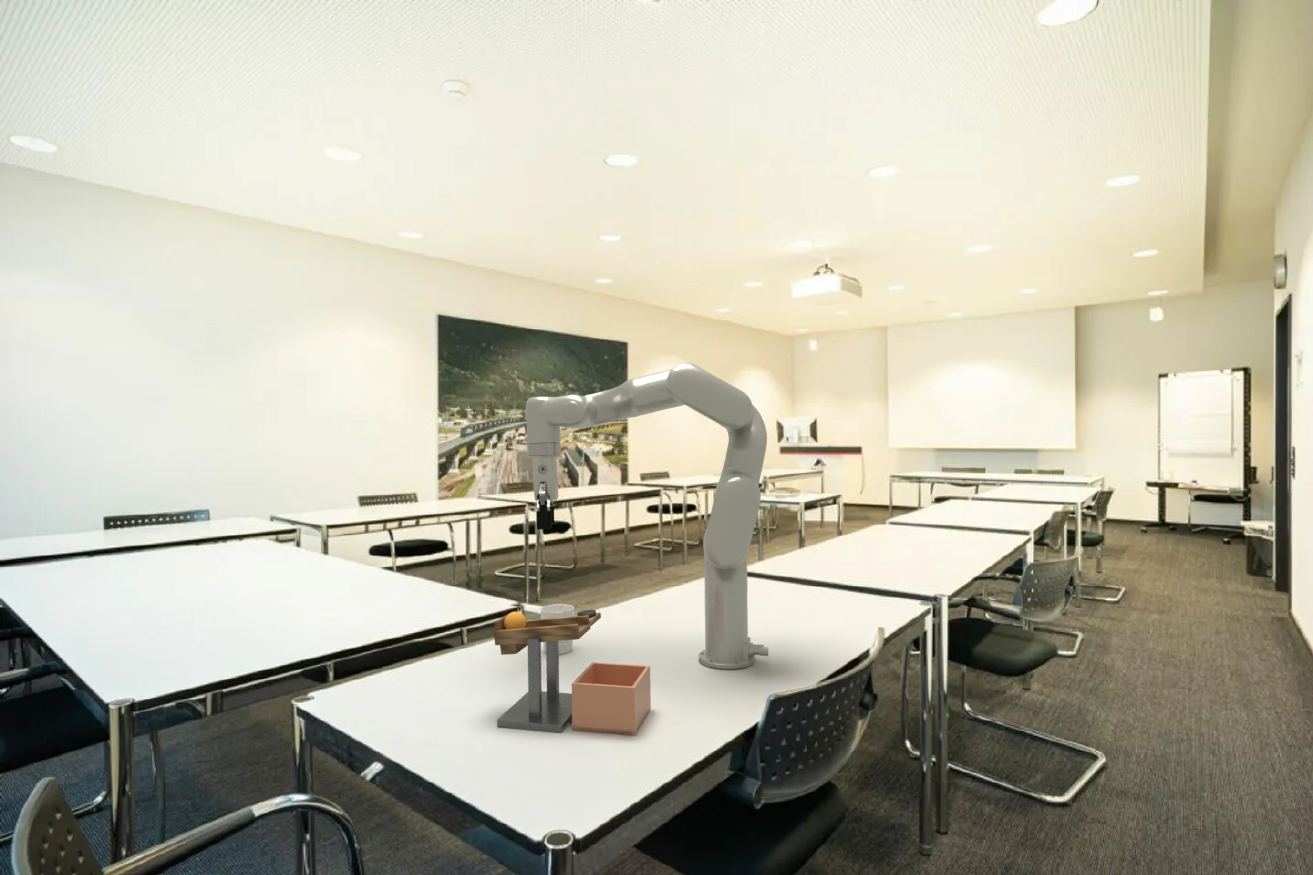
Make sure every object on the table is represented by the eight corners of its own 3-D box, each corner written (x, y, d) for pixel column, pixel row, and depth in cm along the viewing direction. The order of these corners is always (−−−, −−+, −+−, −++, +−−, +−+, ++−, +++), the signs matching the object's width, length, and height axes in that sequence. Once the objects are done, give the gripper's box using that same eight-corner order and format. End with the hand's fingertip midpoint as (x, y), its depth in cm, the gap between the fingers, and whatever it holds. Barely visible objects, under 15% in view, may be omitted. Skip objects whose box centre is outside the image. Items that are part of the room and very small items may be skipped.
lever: (604, 627, 134) (600, 596, 134) (579, 650, 120) (575, 616, 120) (529, 633, 138) (525, 603, 138) (496, 656, 124) (492, 623, 124)
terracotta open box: (650, 708, 126) (650, 665, 126) (635, 735, 115) (634, 687, 115) (592, 704, 129) (592, 662, 129) (572, 729, 118) (571, 683, 118)
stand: (588, 701, 131) (587, 622, 130) (561, 732, 117) (560, 644, 117) (529, 696, 133) (528, 619, 133) (497, 726, 120) (495, 641, 120)
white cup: (568, 656, 157) (567, 613, 157) (536, 654, 159) (535, 611, 158) (579, 645, 165) (578, 604, 165) (548, 644, 166) (547, 603, 166)
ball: (531, 628, 128) (527, 607, 128) (522, 634, 124) (518, 612, 124) (512, 632, 129) (507, 611, 129) (502, 638, 125) (498, 616, 125)
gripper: (558, 451, 147) (560, 530, 148) (562, 449, 165) (564, 520, 165) (523, 452, 147) (525, 532, 147) (531, 450, 164) (532, 521, 164)
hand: (545, 526), depth 156 cm, fingers open, 9 cm apart
